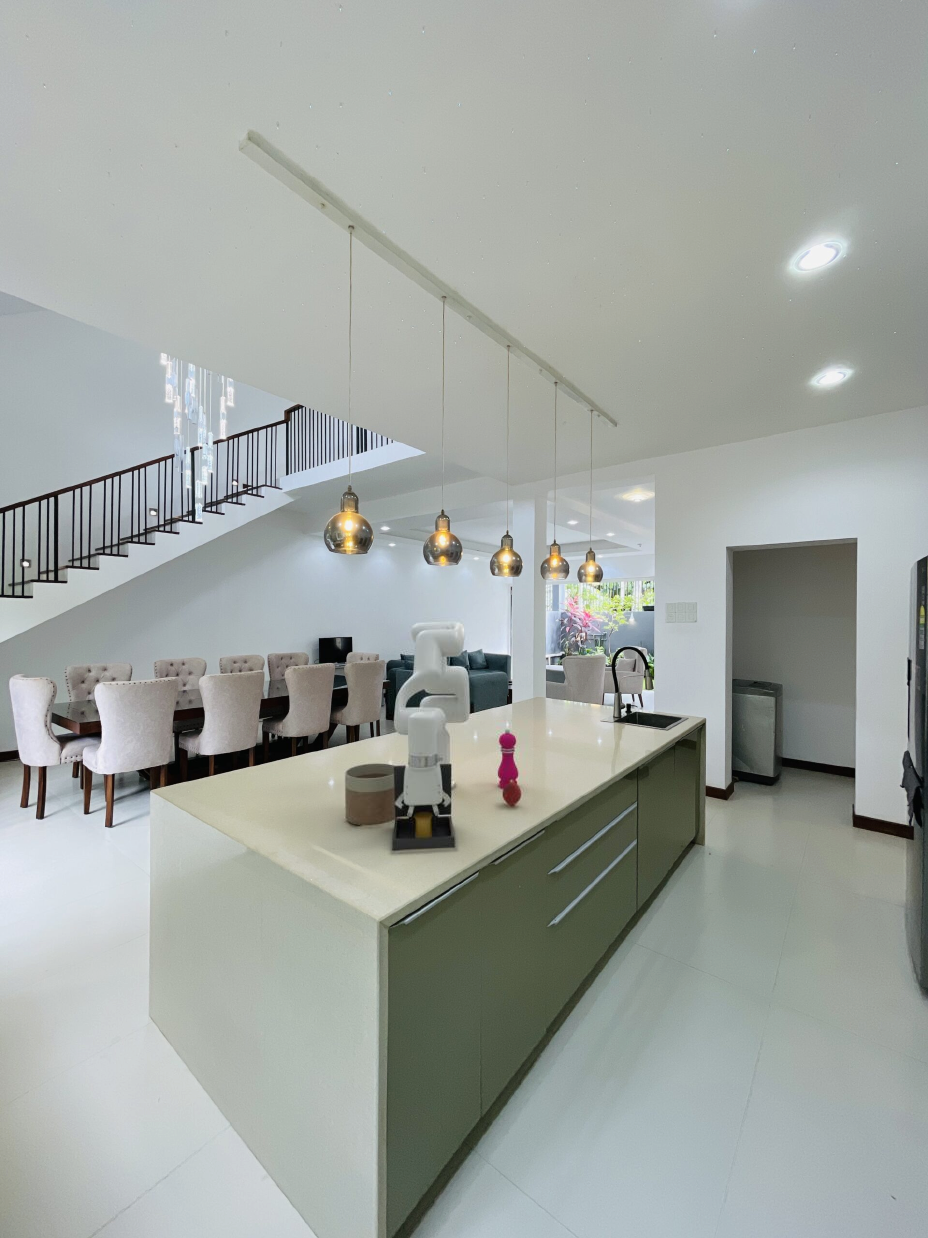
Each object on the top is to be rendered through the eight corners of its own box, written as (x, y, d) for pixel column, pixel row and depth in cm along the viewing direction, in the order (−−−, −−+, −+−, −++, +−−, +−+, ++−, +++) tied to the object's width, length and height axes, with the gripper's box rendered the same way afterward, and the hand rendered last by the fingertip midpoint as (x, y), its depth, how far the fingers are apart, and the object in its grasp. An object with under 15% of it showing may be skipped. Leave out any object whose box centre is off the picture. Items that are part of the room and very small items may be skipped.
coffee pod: (410, 839, 135) (409, 816, 135) (423, 832, 139) (423, 810, 139) (423, 844, 132) (423, 820, 132) (437, 837, 135) (436, 814, 135)
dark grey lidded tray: (454, 850, 129) (454, 837, 129) (392, 853, 128) (392, 840, 128) (451, 827, 144) (451, 815, 144) (395, 830, 143) (395, 818, 143)
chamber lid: (451, 765, 140) (450, 756, 144) (393, 767, 138) (394, 758, 143) (451, 814, 144) (450, 804, 148) (395, 817, 142) (395, 807, 147)
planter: (353, 832, 142) (353, 781, 142) (339, 813, 156) (339, 767, 156) (407, 821, 149) (407, 773, 149) (389, 804, 163) (389, 760, 163)
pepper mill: (496, 783, 183) (495, 727, 183) (516, 782, 183) (515, 726, 183) (499, 790, 176) (498, 731, 176) (520, 789, 176) (519, 730, 176)
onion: (520, 809, 157) (519, 783, 157) (501, 808, 158) (501, 782, 158) (522, 803, 162) (521, 777, 163) (503, 802, 164) (503, 777, 164)
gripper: (454, 755, 140) (454, 822, 140) (390, 757, 138) (391, 825, 138) (455, 763, 132) (456, 834, 132) (389, 765, 131) (389, 837, 131)
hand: (423, 829), depth 135 cm, fingers closed on coffee pod, 5 cm apart
